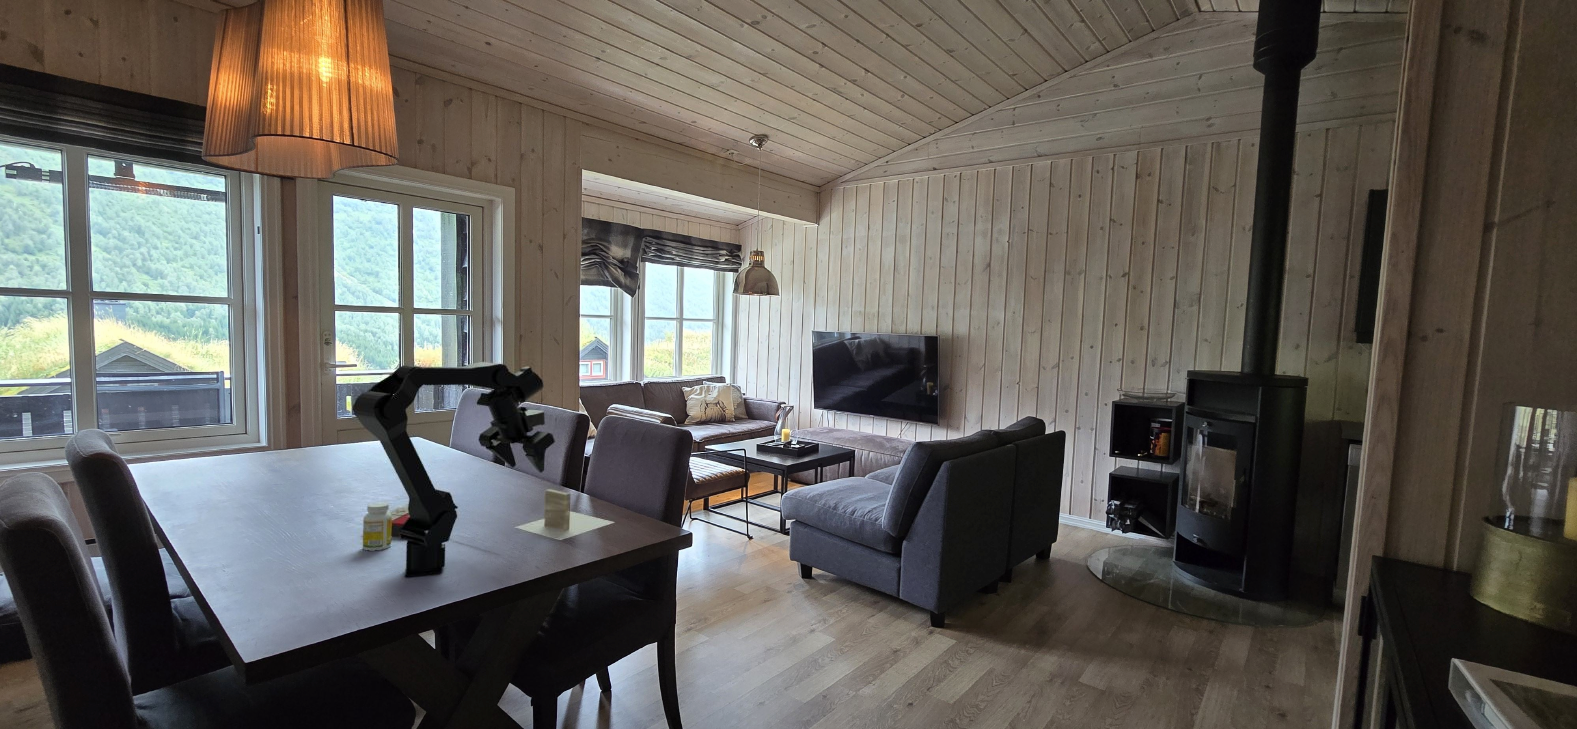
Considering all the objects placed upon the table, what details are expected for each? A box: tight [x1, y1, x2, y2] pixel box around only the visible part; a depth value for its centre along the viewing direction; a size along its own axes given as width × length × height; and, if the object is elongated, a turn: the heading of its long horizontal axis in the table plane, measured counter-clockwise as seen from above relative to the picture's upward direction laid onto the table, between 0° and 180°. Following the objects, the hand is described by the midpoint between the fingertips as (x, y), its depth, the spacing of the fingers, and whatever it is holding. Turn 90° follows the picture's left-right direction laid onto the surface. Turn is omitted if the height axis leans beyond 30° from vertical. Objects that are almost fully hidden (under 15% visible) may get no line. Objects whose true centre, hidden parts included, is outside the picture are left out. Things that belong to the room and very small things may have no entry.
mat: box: [514, 510, 615, 541], centre depth 167 cm, size 18×16×1 cm
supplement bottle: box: [362, 501, 392, 552], centre depth 146 cm, size 5×5×10 cm
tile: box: [544, 488, 571, 531], centre depth 164 cm, size 2×7×9 cm, turn 61°
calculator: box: [388, 503, 427, 538], centre depth 161 cm, size 11×4×15 cm
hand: (527, 469), depth 157 cm, fingers open, 9 cm apart
